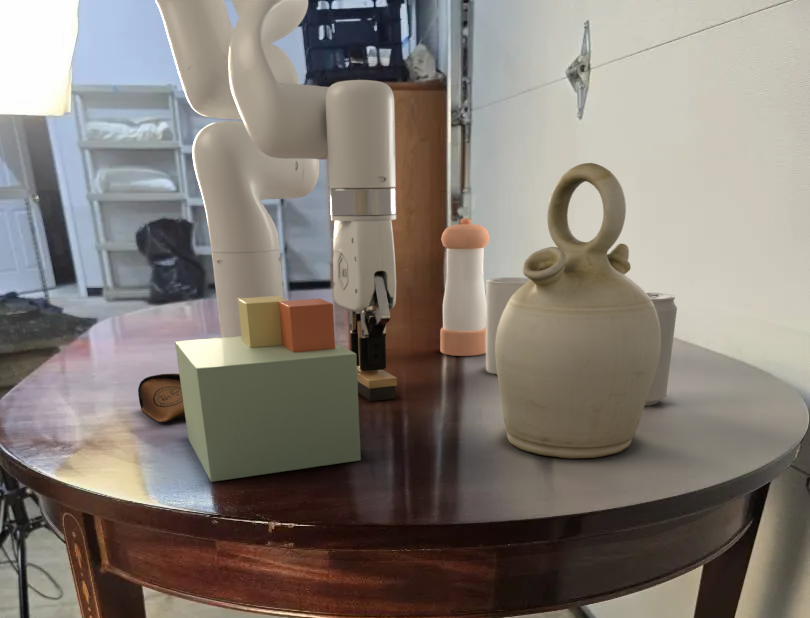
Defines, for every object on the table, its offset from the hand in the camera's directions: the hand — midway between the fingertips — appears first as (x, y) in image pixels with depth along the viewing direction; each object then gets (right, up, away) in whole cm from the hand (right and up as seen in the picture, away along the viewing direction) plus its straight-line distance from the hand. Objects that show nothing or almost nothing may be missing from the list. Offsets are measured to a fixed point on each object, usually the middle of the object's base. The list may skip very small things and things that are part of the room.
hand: (368, 366), depth 96 cm
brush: (0, -3, +1) cm, 3 cm away
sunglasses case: (-17, -6, -4) cm, 18 cm away
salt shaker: (+14, +7, +24) cm, 29 cm away
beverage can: (+32, -5, -5) cm, 33 cm away
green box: (-9, -13, -20) cm, 25 cm away
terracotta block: (-4, -4, -24) cm, 25 cm away
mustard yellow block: (-9, -3, -22) cm, 24 cm away
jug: (+21, -12, -19) cm, 30 cm away
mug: (+20, +2, +12) cm, 23 cm away
